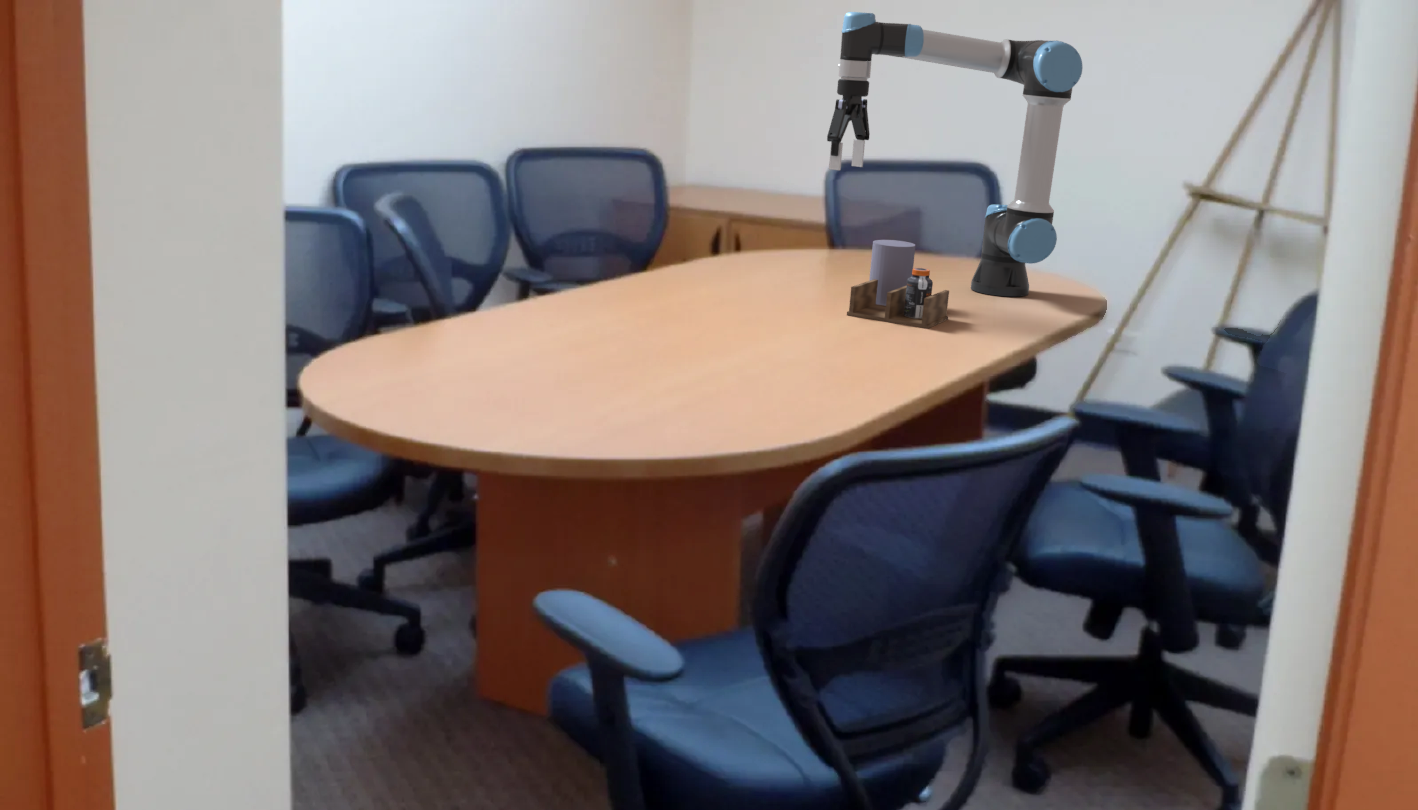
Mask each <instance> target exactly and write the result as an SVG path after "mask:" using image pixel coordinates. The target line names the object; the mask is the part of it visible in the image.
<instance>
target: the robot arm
mask: <svg viewBox="0 0 1418 810" xmlns="http://www.w3.org/2000/svg"><path fill="white" fill-rule="evenodd" d="M843 16H844V17H843V23H842V29H841V43H840V44H841V46H840V56H839V57H840V58H839V63H838V64H837V67H838V68H839V69H838V76H839V77H840V78H839V79H838V80H837V89H836V90H837V91H836V93H837V94H838V95H839V96H842V99H836V101H835V106H834V111H833V115H832V119H831V123H830V124H829V125H830V126H829V130H828V133H827V136H826V137H827V138H826V141H827V142H829V143H830V150H829V151H830V154H829V165H828V169H829V170H832V171H833V170H834V171H841V169H842V157H843V146H844V145H843V144H844V143H843V142H842V141H843V137H844V136H845V133H846V130H847V128H848V125H849V123H850V122H851V125H852V128H853V133H854V137H855V139H853V143H852V153H851V154H852V156H851V167H857V168H858V167H859V168H864V157H865V144H866V141H869V140H870V125H869V115H868V114H869V113H868V99H866V98H865V97H868V96H869V92H870V91H869V90H870V81H869V80H868V79H870V78H871V72H872V71H871V69H872V58H873V57H872V56H873V55H877V56H878V55H879V56H890V57H894V58H903V59H909V60H915V61H919V62H921V61H922V62H926V63H927V62H928V63H932V64H938V65H944V66H950V67H956V68H963V69H968V70H974V71H978V72H979V71H980V72H987V73H992V74H994V76H995V77H996V78H998V79H1002V80H1003V79H1004V80H1008V81H1012V82H1014V83H1018V84H1019V85H1020V84H1021V85H1023V91H1022V96H1023V98H1024V99H1025V101H1026V102H1027V107H1026V114H1025V121H1024V128H1023V129H1024V130H1023V136H1022V143H1021V149H1020V155H1019V156H1020V157H1019V162H1018V163H1019V164H1018V170H1017V179H1016V186H1015V193H1014V198H1013V200H1012V201H1011V202H1010V203H1008V204H993V203H992V204H990V205H988V206H987V208H986V213H985V216H984V227H983V236H982V244H981V245H982V246H981V255H980V261H979V263H978V265H977V267H976V270H975V272H974V275H973V277H972V278H971V283H970V290H972V291H974V292H977V293H981V294H985V295H988V296H989V295H990V296H999V297H1025V296H1028V295H1029V292H1030V282H1029V277H1028V272H1027V268H1026V264H1031V265H1032V264H1038V263H1040V262H1042V261H1044V260H1045V259H1047V258H1048V257H1049V256H1051V254H1052V253H1053V251H1054V250H1055V248H1056V244H1057V241H1058V239H1057V238H1058V235H1057V232H1056V229H1055V226H1054V225H1053V221H1054V213H1055V210H1054V209H1053V207H1052V206H1051V204H1050V198H1051V197H1050V196H1051V191H1052V185H1053V178H1054V177H1053V176H1054V171H1055V164H1056V158H1057V150H1058V145H1059V137H1060V130H1061V124H1062V117H1063V111H1064V106H1066V104H1067V103H1069V102H1070V101H1071V99H1072V93H1073V88H1074V87H1075V86H1076V85H1077V84H1078V82H1079V81H1080V79H1081V77H1082V74H1083V60H1082V57H1081V54H1080V53H1079V52H1078V51H1077V49H1076V48H1075V47H1074V46H1073V45H1071V44H1069V43H1067V42H1064V41H1060V40H1042V39H1040V40H1039V39H1037V40H1036V39H1035V40H1013V39H1008V38H1007V39H1003V40H1001V42H998V41H994V40H988V39H981V38H976V37H971V36H964V35H957V34H951V33H947V32H946V33H945V32H938V31H934V30H928V29H923V27H922V26H921V25H918V24H911V23H897V22H879V21H877V20H876V14H874V13H873V12H872V13H871V12H859V11H848V12H846V13H845V14H844V15H843Z"/></svg>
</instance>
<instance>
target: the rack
mask: <svg viewBox="0 0 1418 810" xmlns="http://www.w3.org/2000/svg"><path fill="white" fill-rule="evenodd" d="M877 287H878V280H877V279H873V280H870V281H869V280H868V281H865V282H861V283H859V284H856V285H852V286H850V294H849V295H850V296H849V307H848V308H849V309H848V311H846V316H850V317H856V318H862V319H868V320H874V321H879V322H886V323H891V324H897V325H898V324H899V325H903V326H910V327H916V328H922V329H931V328H932V327H934V326H937V325H938V324H941V323H943V322H946V321H947V320H949V315H947V313H948V306H949V304H948V303H949V295H950V290H947V289H943V290H941V291H939V292H937V293H934V294H931V296H929V297H926V298H924V305H923V315H922V319H914V318H909V317H906V316H905V315H904V306H905V296H906V287H907V286H904V287H901V288H898V289H896V290H893V291H890V292H887V300H886V306H884V305H878V304H876V297H877Z"/></svg>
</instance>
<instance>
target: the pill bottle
mask: <svg viewBox="0 0 1418 810" xmlns="http://www.w3.org/2000/svg"><path fill="white" fill-rule="evenodd" d="M930 273H931V270H930V269H928V268H922V267H913V270H912V277H910V278H908V280H907V287H906V296H905V306H904V315H905V316H906V317H909V318H914V319H922V315H923V305H924V298H926V297H929V296H931V295H933V294H932V293H933V286H934V285H933V283H934V282H933V280H932V279H931V278H930Z"/></svg>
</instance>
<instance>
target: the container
mask: <svg viewBox="0 0 1418 810" xmlns="http://www.w3.org/2000/svg"><path fill="white" fill-rule="evenodd" d="M915 253H916V244H915V243H914V242H908V241H904V240H897V239H896V240H895V239H876V240H873V241H872V249H871V261H870V269H869V279H868V281H870V280H873V279H877V280H878V287H877V297H876V304H878V305H884V306H886V300H887V292H890V291H893V290H896V289H898V288H901V287H904V286H907V280H908V278H910V277H912V270H913V268H914V265H915V263H914V262H915Z"/></svg>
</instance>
